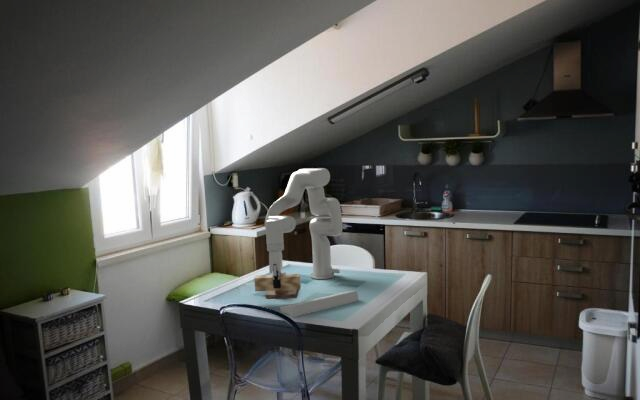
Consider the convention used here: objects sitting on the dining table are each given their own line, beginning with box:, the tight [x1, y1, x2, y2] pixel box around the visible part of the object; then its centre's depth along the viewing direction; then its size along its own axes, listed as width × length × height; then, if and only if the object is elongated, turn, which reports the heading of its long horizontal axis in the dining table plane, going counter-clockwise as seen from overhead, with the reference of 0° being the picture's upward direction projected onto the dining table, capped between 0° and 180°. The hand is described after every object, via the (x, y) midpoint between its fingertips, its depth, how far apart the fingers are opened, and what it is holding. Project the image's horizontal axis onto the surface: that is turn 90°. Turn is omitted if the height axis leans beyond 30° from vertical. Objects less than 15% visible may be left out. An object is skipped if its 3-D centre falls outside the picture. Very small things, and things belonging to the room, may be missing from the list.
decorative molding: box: [279, 290, 360, 318], centre depth 227 cm, size 34×5×10 cm
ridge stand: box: [264, 272, 299, 299], centre depth 249 cm, size 14×16×8 cm
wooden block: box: [253, 273, 302, 292], centre depth 232 cm, size 20×4×6 cm, turn 87°
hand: (277, 286), depth 233 cm, fingers closed on wooden block, 4 cm apart
